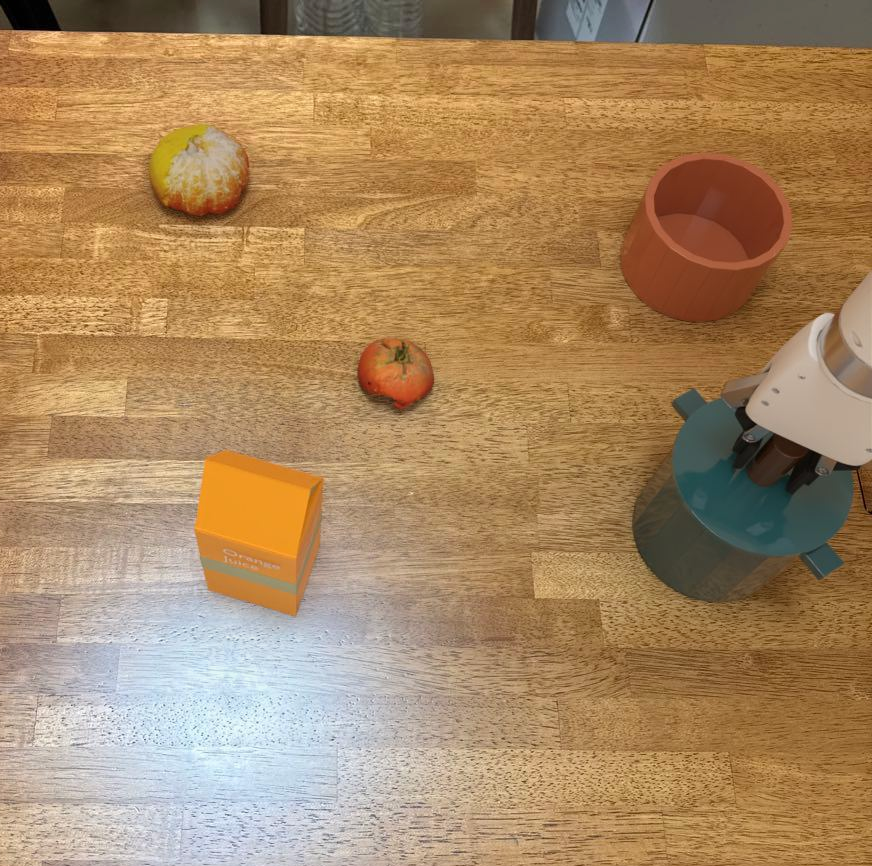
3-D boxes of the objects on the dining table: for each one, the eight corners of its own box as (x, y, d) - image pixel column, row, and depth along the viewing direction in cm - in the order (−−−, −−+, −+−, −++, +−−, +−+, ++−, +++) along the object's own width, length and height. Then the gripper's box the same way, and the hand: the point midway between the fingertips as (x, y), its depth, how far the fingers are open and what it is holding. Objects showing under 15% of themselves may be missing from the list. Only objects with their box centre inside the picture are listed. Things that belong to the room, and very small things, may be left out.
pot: (698, 421, 105) (748, 354, 93) (830, 578, 98) (901, 526, 87) (585, 487, 101) (623, 425, 90) (715, 653, 95) (773, 609, 83)
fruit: (182, 242, 111) (162, 177, 104) (145, 198, 117) (124, 134, 110) (272, 201, 113) (258, 135, 107) (231, 160, 119) (216, 95, 113)
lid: (765, 373, 93) (799, 330, 87) (884, 506, 88) (928, 471, 82) (632, 450, 89) (657, 411, 83) (748, 593, 85) (783, 563, 78)
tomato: (453, 396, 103) (411, 370, 98) (402, 435, 106) (358, 411, 101) (429, 339, 107) (387, 311, 102) (380, 378, 110) (337, 352, 105)
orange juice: (296, 618, 95) (296, 533, 77) (206, 590, 96) (185, 500, 77) (320, 544, 98) (327, 445, 79) (233, 518, 99) (219, 415, 80)
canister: (696, 192, 116) (727, 132, 108) (783, 285, 112) (822, 230, 103) (592, 245, 113) (616, 188, 105) (678, 344, 108) (709, 292, 100)
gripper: (1013, 357, 70) (874, 476, 87) (782, 259, 73) (690, 392, 90) (986, 441, 67) (848, 547, 84) (747, 335, 70) (660, 458, 87)
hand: (768, 466), depth 87 cm, fingers open, 4 cm apart
